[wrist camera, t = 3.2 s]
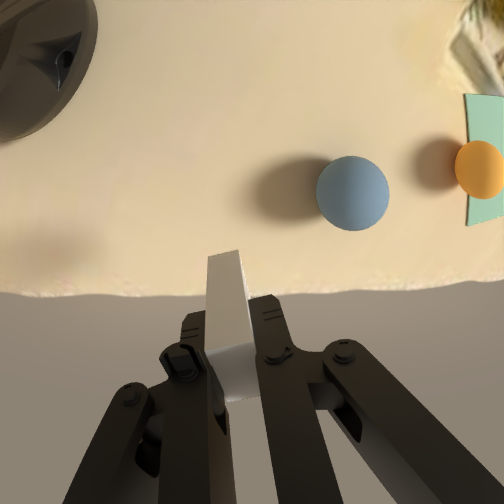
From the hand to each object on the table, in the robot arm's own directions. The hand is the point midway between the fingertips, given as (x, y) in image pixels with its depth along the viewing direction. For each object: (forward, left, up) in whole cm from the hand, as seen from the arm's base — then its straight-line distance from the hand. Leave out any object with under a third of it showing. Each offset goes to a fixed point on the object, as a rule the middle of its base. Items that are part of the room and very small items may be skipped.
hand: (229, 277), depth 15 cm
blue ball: (+1, +9, -7) cm, 12 cm away
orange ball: (+4, +23, -7) cm, 25 cm away
